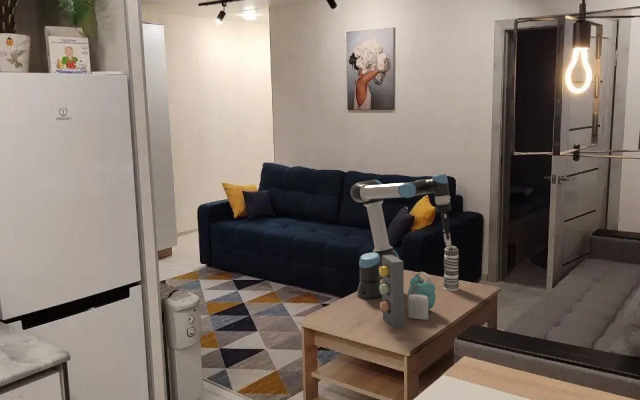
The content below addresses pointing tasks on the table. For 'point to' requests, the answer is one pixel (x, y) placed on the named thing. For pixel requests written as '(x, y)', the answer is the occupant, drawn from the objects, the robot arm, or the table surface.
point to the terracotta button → (385, 306)
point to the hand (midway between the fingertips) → (447, 243)
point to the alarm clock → (423, 288)
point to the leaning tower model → (451, 268)
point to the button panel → (394, 291)
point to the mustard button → (384, 271)
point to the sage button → (384, 288)
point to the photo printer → (418, 307)
